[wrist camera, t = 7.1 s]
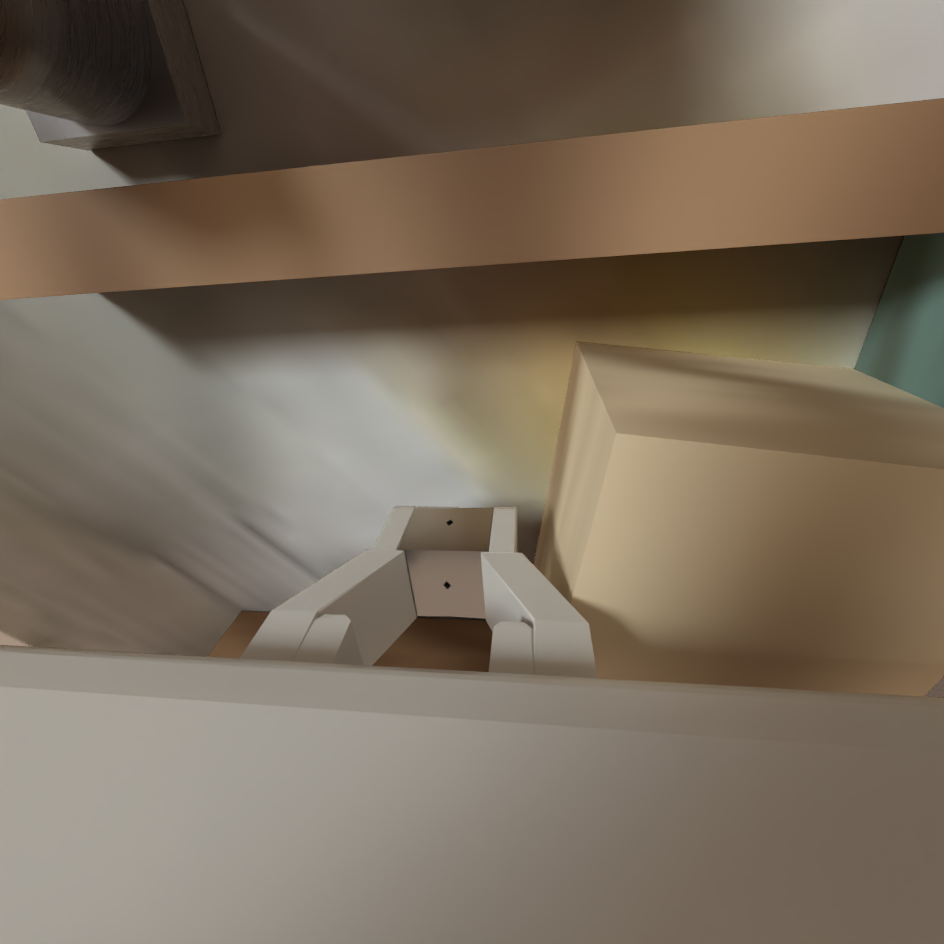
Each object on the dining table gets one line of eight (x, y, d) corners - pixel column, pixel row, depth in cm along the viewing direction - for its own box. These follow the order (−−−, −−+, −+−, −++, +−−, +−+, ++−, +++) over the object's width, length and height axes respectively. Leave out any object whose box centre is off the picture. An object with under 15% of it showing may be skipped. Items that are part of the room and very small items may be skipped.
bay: (254, 638, 16) (203, 716, 14) (52, 213, 9) (-125, 208, 7) (794, 664, 14) (856, 764, 11) (1050, 112, 7) (1357, 45, 4)
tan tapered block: (527, 593, 14) (528, 762, 9) (576, 341, 10) (616, 432, 5) (719, 619, 13) (811, 806, 9) (852, 368, 9) (1134, 489, 5)
